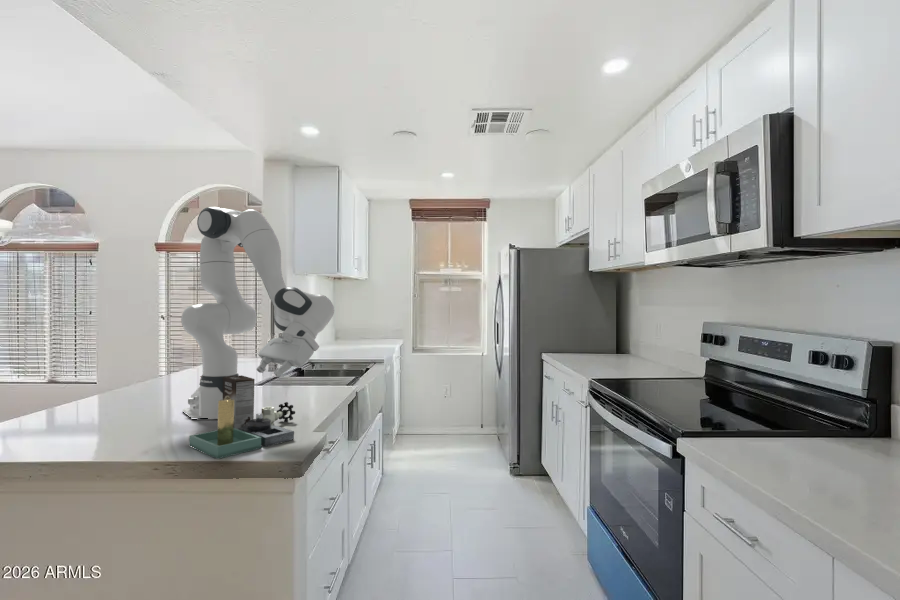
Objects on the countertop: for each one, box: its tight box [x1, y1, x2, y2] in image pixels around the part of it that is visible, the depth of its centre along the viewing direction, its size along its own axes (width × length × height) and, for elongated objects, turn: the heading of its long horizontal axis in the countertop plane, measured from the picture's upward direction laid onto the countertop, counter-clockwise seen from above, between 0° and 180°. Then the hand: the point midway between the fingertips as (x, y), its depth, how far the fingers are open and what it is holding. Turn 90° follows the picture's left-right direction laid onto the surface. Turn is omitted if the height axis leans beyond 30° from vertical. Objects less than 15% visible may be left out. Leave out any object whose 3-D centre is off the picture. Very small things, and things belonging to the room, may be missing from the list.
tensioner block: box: [238, 413, 295, 448], centre depth 144 cm, size 15×9×6 cm, turn 51°
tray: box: [188, 428, 262, 459], centre depth 135 cm, size 16×12×3 cm
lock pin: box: [217, 399, 234, 446], centre depth 135 cm, size 4×4×12 cm
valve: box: [261, 401, 296, 425], centre depth 159 cm, size 7×7×12 cm
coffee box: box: [223, 375, 255, 429], centre depth 154 cm, size 9×6×16 cm
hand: (267, 373), depth 145 cm, fingers open, 8 cm apart
